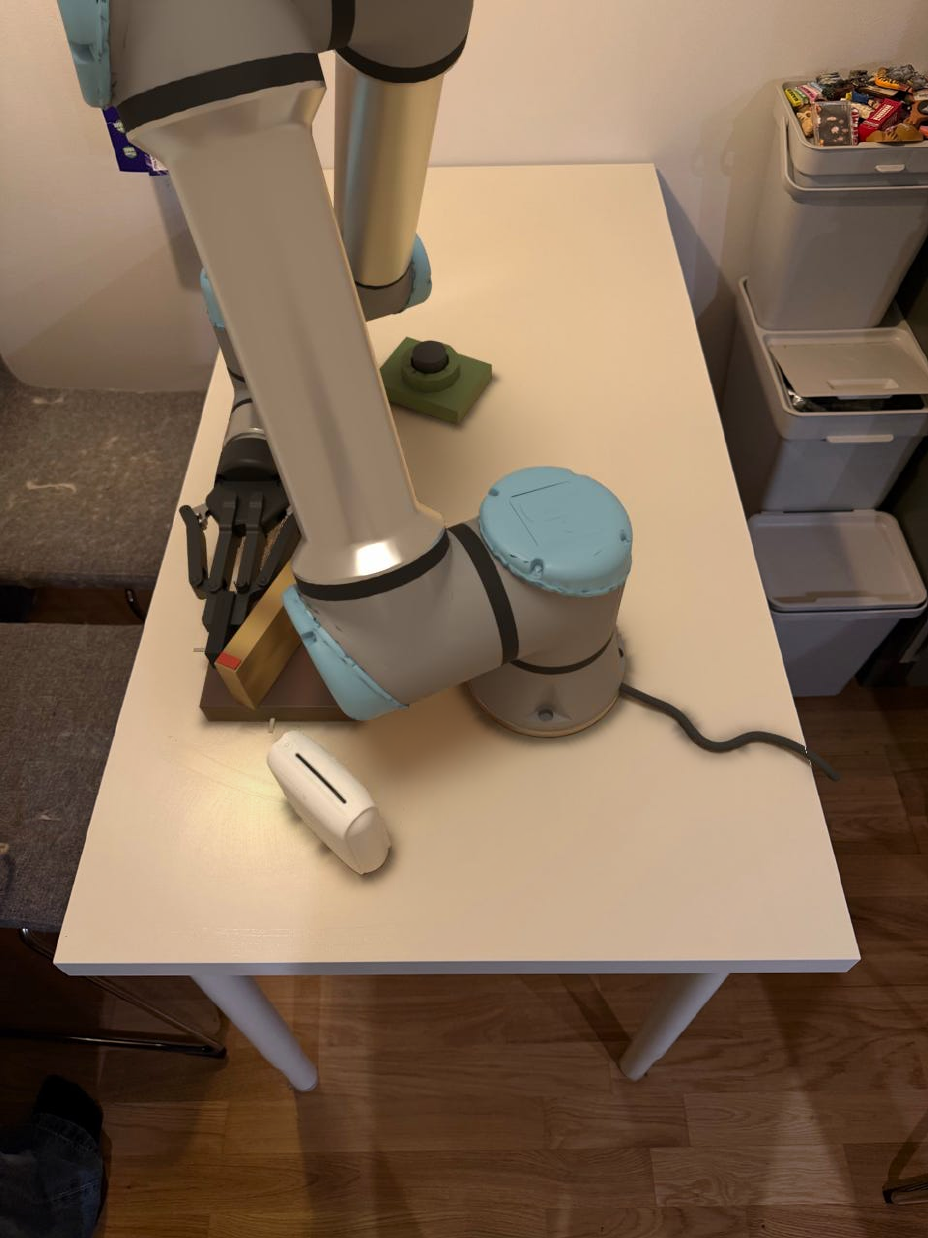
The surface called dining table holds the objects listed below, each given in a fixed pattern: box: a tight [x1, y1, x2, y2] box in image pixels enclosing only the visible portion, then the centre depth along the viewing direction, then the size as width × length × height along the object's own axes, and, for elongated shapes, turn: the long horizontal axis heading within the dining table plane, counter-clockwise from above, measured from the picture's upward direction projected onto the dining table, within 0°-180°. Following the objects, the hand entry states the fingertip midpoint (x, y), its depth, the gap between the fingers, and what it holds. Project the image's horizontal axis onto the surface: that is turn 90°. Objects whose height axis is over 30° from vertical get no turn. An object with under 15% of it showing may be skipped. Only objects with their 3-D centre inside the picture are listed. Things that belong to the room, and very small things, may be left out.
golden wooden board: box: [214, 559, 302, 710], centre depth 76 cm, size 13×2×7 cm, turn 154°
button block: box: [379, 336, 493, 426], centre depth 101 cm, size 12×9×4 cm
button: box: [412, 340, 447, 374], centre depth 99 cm, size 4×4×2 cm
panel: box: [192, 599, 357, 734], centre depth 81 cm, size 17×17×3 cm
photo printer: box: [266, 730, 392, 876], centre depth 68 cm, size 10×4×12 cm, turn 46°
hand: (217, 661), depth 73 cm, fingers closed
